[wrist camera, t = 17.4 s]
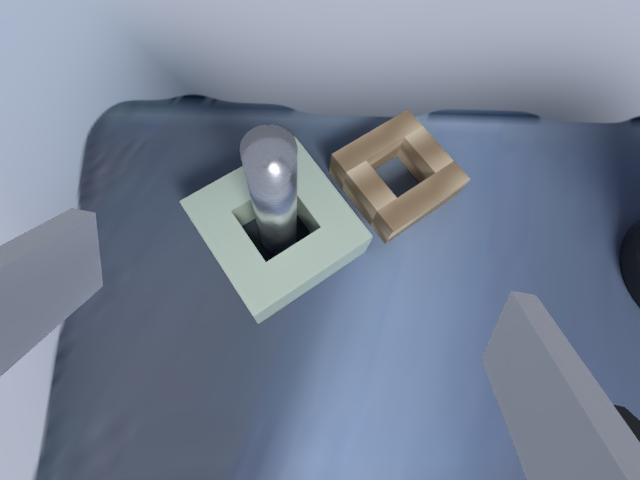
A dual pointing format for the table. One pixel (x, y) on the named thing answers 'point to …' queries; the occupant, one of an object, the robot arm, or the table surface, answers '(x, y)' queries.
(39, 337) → the robot arm
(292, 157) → the cylinder
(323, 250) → the sage rack
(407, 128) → the maple sleeve
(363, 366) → the table surface
